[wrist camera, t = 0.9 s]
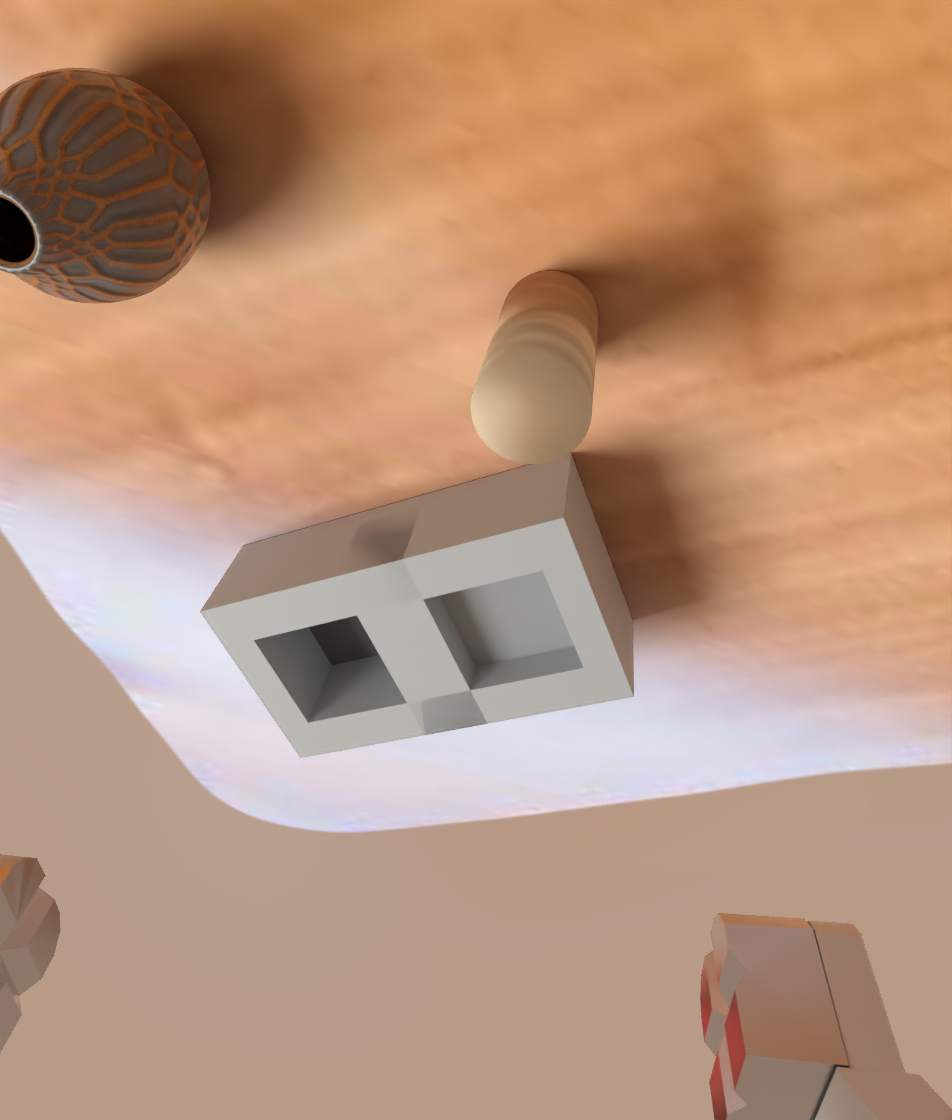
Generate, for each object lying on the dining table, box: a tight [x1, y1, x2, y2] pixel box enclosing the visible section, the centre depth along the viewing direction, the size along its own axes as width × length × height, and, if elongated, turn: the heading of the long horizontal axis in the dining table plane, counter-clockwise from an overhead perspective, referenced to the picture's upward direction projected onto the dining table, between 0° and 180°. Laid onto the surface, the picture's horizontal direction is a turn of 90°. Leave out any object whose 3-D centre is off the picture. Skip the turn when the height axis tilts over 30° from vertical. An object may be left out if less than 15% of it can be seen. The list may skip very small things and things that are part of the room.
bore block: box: [200, 453, 634, 758], centre depth 38 cm, size 16×9×5 cm, turn 112°
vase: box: [0, 68, 211, 303], centre depth 28 cm, size 7×7×9 cm
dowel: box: [471, 270, 599, 465], centre depth 29 cm, size 4×4×8 cm
